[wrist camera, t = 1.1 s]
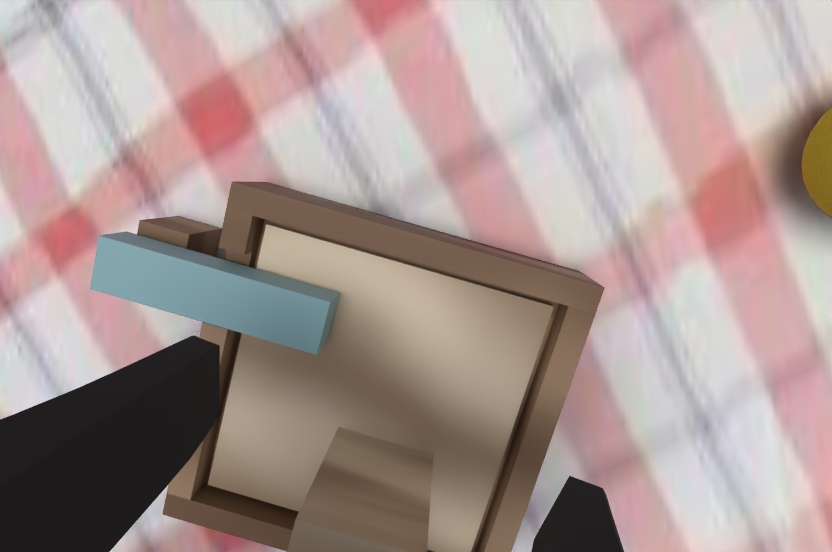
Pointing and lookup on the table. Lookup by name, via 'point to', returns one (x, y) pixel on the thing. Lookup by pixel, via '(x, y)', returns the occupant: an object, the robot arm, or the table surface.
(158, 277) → the rectangular block
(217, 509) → the tray
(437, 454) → the lid
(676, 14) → the table surface
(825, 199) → the lemon
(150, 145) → the table surface
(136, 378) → the robot arm
